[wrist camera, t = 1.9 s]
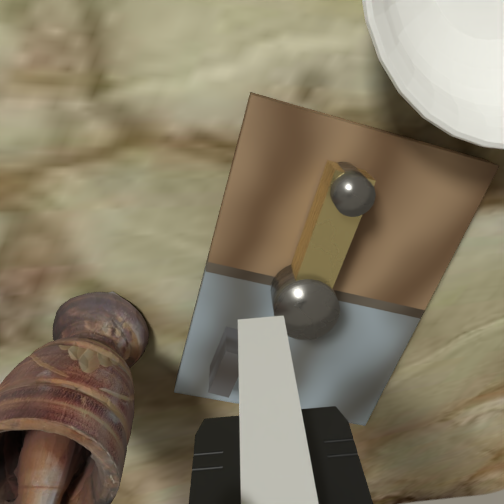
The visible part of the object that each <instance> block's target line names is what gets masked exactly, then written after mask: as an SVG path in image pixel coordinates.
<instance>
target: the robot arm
mask: <svg viewBox="0 0 504 504" xmlns="http://www.w3.org/2000/svg"><path fill="white" fill-rule="evenodd" d="M238 363H239V416H231V417H220V418H209V419H204V421H203V423H202V424H201V426H200V428H199V430H198V431H197V433H196V435H195V445H194V457H193V466H192V476H191V487H190V497H189V504H373V502H372V499H371V495H370V492H369V489H368V486H367V482H366V479H365V476H364V472H363V469H362V466H361V462H360V459H359V456H358V453H357V449H356V446H355V443H354V441H353V436H352V433H351V429H350V426H349V423H348V420H347V419H346V418H345V417H344V415H343V414H342V413H341V412H340V411H339V409H338V408H337V407H336V406H330V407H319V408H308V409H301V406H300V400H299V395H298V389H297V384H296V379H295V373H294V368H293V362H292V357H291V352H290V346H289V341H288V335H287V330H286V325H285V319H284V316H272V317H261V318H250V319H239V320H238Z"/></svg>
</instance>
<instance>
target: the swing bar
mask: <svg viewBox="0 0 504 504" xmlns="http://www.w3.org/2000/svg"><path fill="white" fill-rule="evenodd" d="M375 182H376V180H375V179H374V178H373V177H372V176H371V175H369V174H368V173H367V172H366V171H365V170H362V169H359V168H356V167H355V166H354V165H352V164H351V163H348V162H337V163H336V162H333V161H329V160H327V163H326V165H325V168H324V171H323V174H322V177H321V180H320V183H319V186H318V188H317V191H316V194H315V197H314V200H313V203H312V206H311V208H310V211H309V214H308V217H307V220H306V223H305V226H304V228H303V231H302V234H301V237H300V240H299V243H298V246H297V248H296V251H295V254H294V257H293V260H292V263H291V265H289V266H286V267H285V268H283V269H282V270H280V271H279V272H278V273H277V275H276V276H275V277H274V279H273V281H272V284H271V289H270V291H271V299H272V305H273V312H274V316H284V319H285V325H286V330H287V335H288V336H289V337H291V338H294V339H299V340H310V339H315V338H318V337H320V336H322V335H324V334H326V333H327V332H329V331H330V330H331V329H332V328H333V327H334V325H335V324H336V322H337V320H338V318H339V314H340V305H339V302H338V299H337V297H336V294H335V292H334V290H333V286H334V284H335V281H336V279H337V276H338V274H339V271H340V269H341V266H342V264H343V261H344V259H345V257H346V254H347V252H348V249H349V247H350V244H351V242H352V239H353V237H354V234H355V232H356V229H357V227H358V224H359V222H360V219H361V217H362V215H363V214H365V213H366V212H367V211H368V210H370V208H371V207H372V206H373V204H374V201H375V197H376V193H375V189H374V185H375Z"/></svg>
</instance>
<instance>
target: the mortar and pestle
mask: <svg viewBox="0 0 504 504" xmlns="http://www.w3.org/2000/svg"><path fill="white" fill-rule="evenodd" d="M148 339H149V333H148V327H147V324H146V322H145V320H144V318H143V317H142V315H141V314H140V313H139V311H138V310H137V309H136V308H135V307H133V306H132V305H131V304H130V303H129V302H128V301H126V300H125V299H123V298H122V297H120V296H119V295H118V294H116V293H115V292H109V293H105V292H94V293H87V294H83V295H80V296H77V297H74V298H71V299H69V300H68V301H67V302H65V303H64V304H63V305H62V306H60V308H59V310H58V311H57V313H56V316H55V320H54V324H53V340H54V341H52V342H49V343H47V344H45V345H43V346H42V347H40V348H38V349H37V350H35V351H34V352H33V353H32V354H31V355H30V356H28V357H27V358H25V359H24V360H23V361H22V362H21V363H19V364H18V365H17V366H16V367H15V368H14V369H13V370H12V371H11V372H10V373H9V374H8V376H7V377H6V378H5V379H4V380H3V382H2V383H1V384H0V504H111V502H112V501H113V499H114V498H115V496H116V493H117V491H118V489H119V486H120V481H121V477H122V472H123V467H124V462H125V457H126V452H127V444H128V442H129V438H130V435H131V429H132V422H133V418H134V384H133V379H132V374H131V371H130V369H129V368H130V367H132V366H133V365H134V364H135V363H136V362H137V361H138V360H139V358H140V357H141V356H142V354H143V353H144V351H145V348H146V346H147V344H148Z"/></svg>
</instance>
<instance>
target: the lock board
mask: <svg viewBox="0 0 504 504" xmlns="http://www.w3.org/2000/svg"><path fill="white" fill-rule="evenodd" d="M327 160H329V161H333V162H336V163H337V162H348V163H351V164H352V165H354V166H355V167H356V168H359V169H362V170H365V171H366V172H367V173H368V174H369V175H371V176H372V177H373V178H374V179H375V180H376V182H375V185H374V189H375V193H376V197H375V201H374V204H373V206H372V207H371V208H370V210H368V211H367V212H366V213H365V214H363V215H362V217H361V219H360V222H359V224H358V227H357V229H356V232H355V234H354V237H353V239H352V242H351V244H350V247H349V249H348V252H347V254H346V257H345V259H344V261H343V264H342V266H341V269H340V271H339V274H338V276H337V279H336V281H335V284H334V286H333V290H334V292H335V294H336V297H337V299H338V302H339V305H340V314H339V318H338V320H337V322H336V324H335V325H334V327H333V328H332V329H331V330H330V331H329V332H327V333H326V334H324V335H322V336H320V337H318V338H315V339H310V340H299V339H294V338H291V337H289V336H288V341H289V346H290V352H291V357H292V362H293V368H294V373H295V379H296V384H297V389H298V395H299V400H300V406H301V409H308V408H319V407H330V406H336V407H337V408H338V409H339V411H340V412H341V413H342V414H343V415H344V417H345V418H346V419H347V420H348V423H353V424H359V425H364V426H365V425H366V423H367V421H368V419H369V417H370V415H371V413H372V411H373V409H374V408H375V406H376V404H377V402H378V400H379V398H380V396H381V394H382V392H383V390H384V388H385V386H386V384H387V382H388V380H389V379H390V377H391V375H392V373H393V371H394V369H395V367H396V365H397V363H398V361H399V359H400V357H401V355H402V353H403V352H404V350H405V348H406V346H407V344H408V342H409V340H410V338H411V336H412V334H413V332H414V330H415V328H416V326H417V324H418V323H419V321H420V319H421V317H422V315H423V313H424V311H425V309H426V307H427V305H428V303H429V301H430V299H431V297H432V295H433V294H434V292H435V290H436V288H437V286H438V284H439V282H440V280H441V278H442V276H443V274H444V272H445V270H446V268H447V266H448V265H449V263H450V261H451V259H452V257H453V255H454V253H455V251H456V249H457V247H458V245H459V243H460V241H461V239H462V238H463V236H464V234H465V232H466V230H467V228H468V226H469V224H470V222H471V220H472V218H473V216H474V214H475V212H476V210H477V209H478V207H479V205H480V203H481V201H482V199H483V197H484V195H485V193H486V191H487V189H488V187H489V185H490V183H491V181H492V180H493V178H494V176H495V174H496V172H497V170H498V168H499V165H496V164H494V163H492V162H490V161H488V160H485V159H481V158H478V157H474V156H471V155H467V154H464V153H461V152H457V151H454V150H450V149H447V148H443V147H440V146H436V145H433V144H429V143H426V142H422V141H419V140H415V139H412V138H408V137H405V136H401V135H398V134H394V133H391V132H387V131H384V130H380V129H377V128H373V127H370V126H367V125H363V124H360V123H356V122H353V121H349V120H346V119H342V118H339V117H335V116H332V115H328V114H325V113H321V112H318V111H314V110H311V109H307V108H304V107H300V106H297V105H293V104H290V103H286V102H283V101H280V100H276V99H273V98H269V97H266V96H262V95H259V94H255V93H252V92H250V96H249V100H248V103H247V107H246V111H245V115H244V119H243V123H242V127H241V131H240V134H239V138H238V142H237V146H236V150H235V154H234V158H233V162H232V165H231V169H230V173H229V177H228V181H227V185H226V189H225V192H224V196H223V200H222V204H221V208H220V212H219V216H218V220H217V223H216V227H215V231H214V235H213V239H212V243H211V247H210V251H209V254H208V258H207V262H206V266H205V270H204V274H203V278H202V281H201V285H200V289H199V293H198V297H197V301H196V305H195V309H194V312H193V316H192V320H191V324H190V328H189V332H188V336H187V339H186V343H185V347H184V351H183V355H182V359H181V363H180V367H179V370H178V374H177V378H176V384H175V390H174V392H175V393H181V394H187V395H192V396H198V397H204V398H210V399H215V400H221V401H227V402H233V403H238V404H239V363H238V320H239V319H250V318H261V317H272V316H274V312H273V305H272V299H271V291H270V289H271V284H272V281H273V279H274V277H275V276H276V275H277V273H278V272H279V271H280V270H282V269H283V268H285V267H286V266H289V265H291V263H292V260H293V257H294V254H295V251H296V248H297V246H298V243H299V240H300V237H301V234H302V231H303V228H304V226H305V223H306V220H307V217H308V214H309V211H310V208H311V206H312V203H313V200H314V197H315V194H316V191H317V188H318V186H319V183H320V180H321V177H322V174H323V171H324V168H325V165H326V163H327Z"/></svg>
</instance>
